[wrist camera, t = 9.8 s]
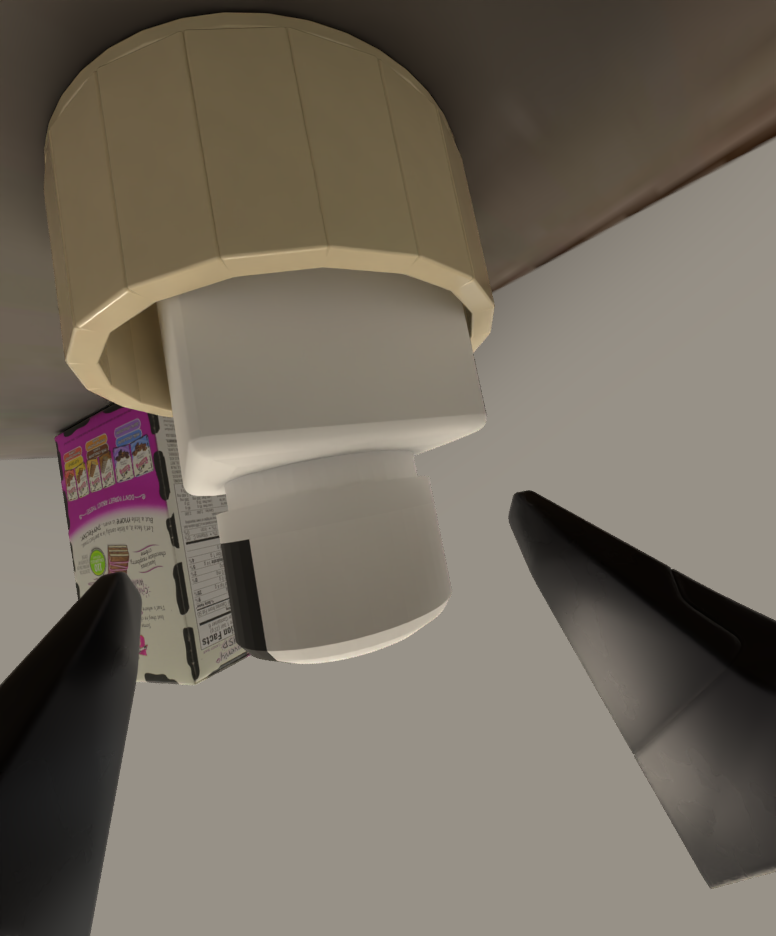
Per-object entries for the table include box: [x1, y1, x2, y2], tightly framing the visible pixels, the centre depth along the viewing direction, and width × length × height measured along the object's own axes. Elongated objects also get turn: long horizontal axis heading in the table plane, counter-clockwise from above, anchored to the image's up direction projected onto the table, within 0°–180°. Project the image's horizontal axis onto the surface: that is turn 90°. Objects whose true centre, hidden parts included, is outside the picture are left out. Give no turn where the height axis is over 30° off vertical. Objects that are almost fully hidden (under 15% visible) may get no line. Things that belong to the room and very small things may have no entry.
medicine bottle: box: [156, 267, 487, 664], centre depth 12 cm, size 7×7×12 cm
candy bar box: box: [55, 404, 250, 685], centre depth 26 cm, size 11×5×16 cm, turn 119°
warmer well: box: [43, 12, 495, 417], centre depth 12 cm, size 11×11×4 cm
